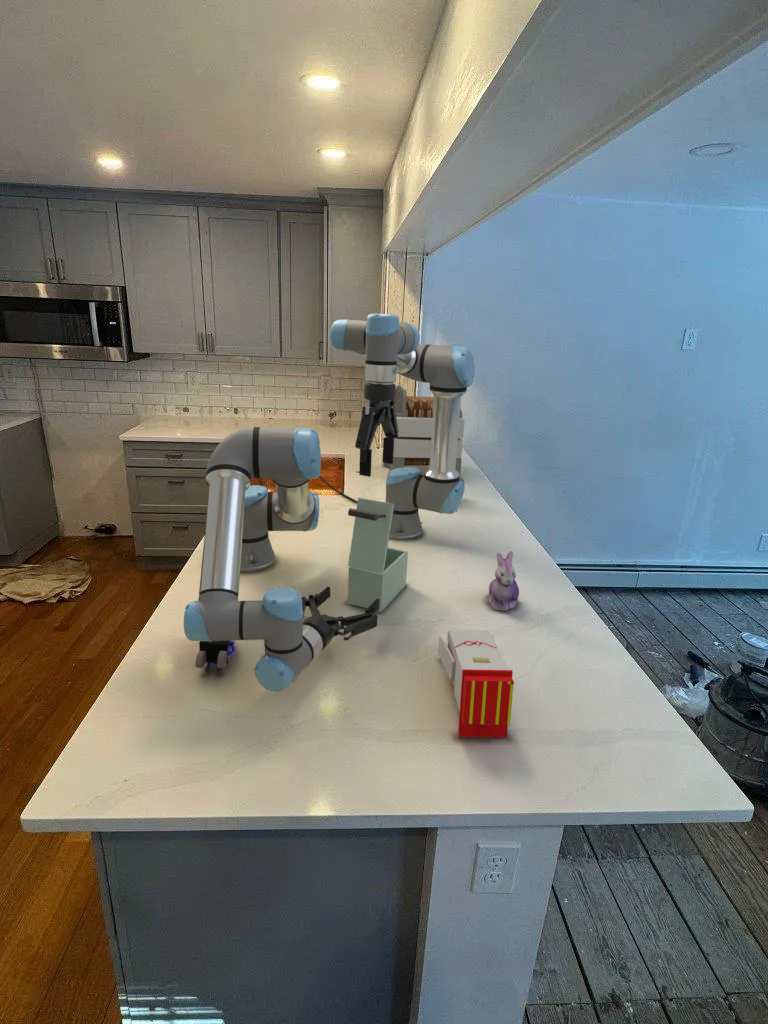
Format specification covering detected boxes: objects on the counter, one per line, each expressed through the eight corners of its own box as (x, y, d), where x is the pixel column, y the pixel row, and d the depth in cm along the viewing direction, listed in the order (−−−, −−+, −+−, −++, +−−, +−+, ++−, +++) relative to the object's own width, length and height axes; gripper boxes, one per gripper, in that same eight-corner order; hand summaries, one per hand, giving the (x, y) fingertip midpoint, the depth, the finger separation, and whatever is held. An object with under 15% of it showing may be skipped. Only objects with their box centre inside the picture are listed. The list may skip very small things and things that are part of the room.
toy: (488, 613, 130) (523, 677, 101) (484, 667, 133) (517, 744, 104) (435, 612, 130) (455, 676, 101) (432, 666, 133) (451, 743, 103)
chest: (375, 577, 167) (376, 544, 163) (406, 585, 163) (408, 551, 160) (347, 603, 152) (348, 567, 148) (381, 612, 148) (382, 575, 144)
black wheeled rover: (228, 683, 120) (242, 637, 133) (225, 655, 116) (240, 611, 130) (196, 682, 119) (214, 637, 133) (192, 654, 116) (211, 610, 130)
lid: (359, 497, 147) (345, 497, 139) (394, 504, 143) (381, 504, 135) (349, 565, 148) (334, 569, 141) (383, 573, 145) (370, 577, 137)
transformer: (382, 463, 289) (386, 382, 275) (445, 464, 293) (451, 384, 279) (390, 482, 257) (394, 392, 243) (460, 483, 261) (468, 394, 247)
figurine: (500, 615, 149) (507, 563, 144) (477, 598, 157) (483, 548, 152) (528, 608, 153) (536, 557, 148) (504, 591, 161) (510, 543, 156)
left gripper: (261, 639, 128) (309, 599, 147) (360, 669, 119) (398, 622, 138) (260, 610, 126) (309, 573, 144) (361, 638, 117) (400, 595, 135)
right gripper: (372, 389, 122) (369, 483, 129) (413, 379, 144) (409, 460, 151) (341, 386, 125) (340, 478, 132) (386, 376, 146) (383, 456, 154)
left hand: (353, 597), depth 141 cm, fingers open, 13 cm apart
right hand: (376, 469), depth 142 cm, fingers open, 13 cm apart
